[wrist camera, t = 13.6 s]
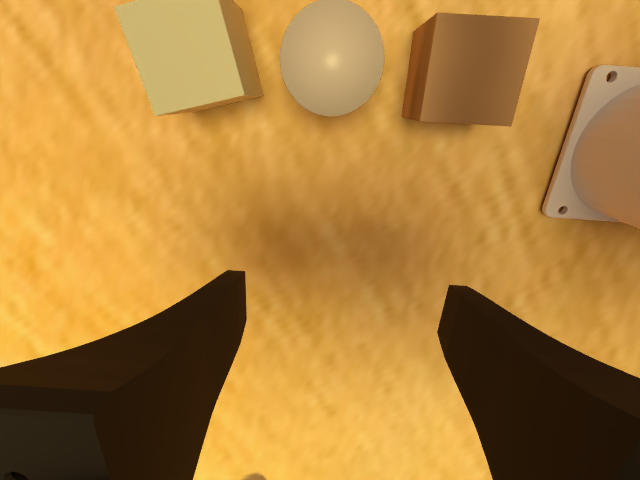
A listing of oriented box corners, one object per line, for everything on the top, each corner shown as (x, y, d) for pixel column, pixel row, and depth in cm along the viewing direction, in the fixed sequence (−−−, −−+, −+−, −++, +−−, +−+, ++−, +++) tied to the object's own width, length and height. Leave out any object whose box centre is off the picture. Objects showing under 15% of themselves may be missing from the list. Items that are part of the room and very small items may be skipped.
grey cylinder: (373, 28, 17) (391, 1, 12) (365, 114, 18) (377, 119, 14) (293, 23, 17) (280, -6, 12) (291, 109, 18) (279, 113, 14)
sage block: (241, 9, 16) (212, -21, 12) (263, 95, 18) (244, 95, 14) (166, 29, 17) (114, 6, 13) (194, 111, 18) (155, 115, 14)
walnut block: (492, 36, 17) (539, 18, 13) (474, 120, 18) (510, 126, 14) (413, 31, 17) (437, 12, 13) (401, 116, 18) (420, 121, 14)
